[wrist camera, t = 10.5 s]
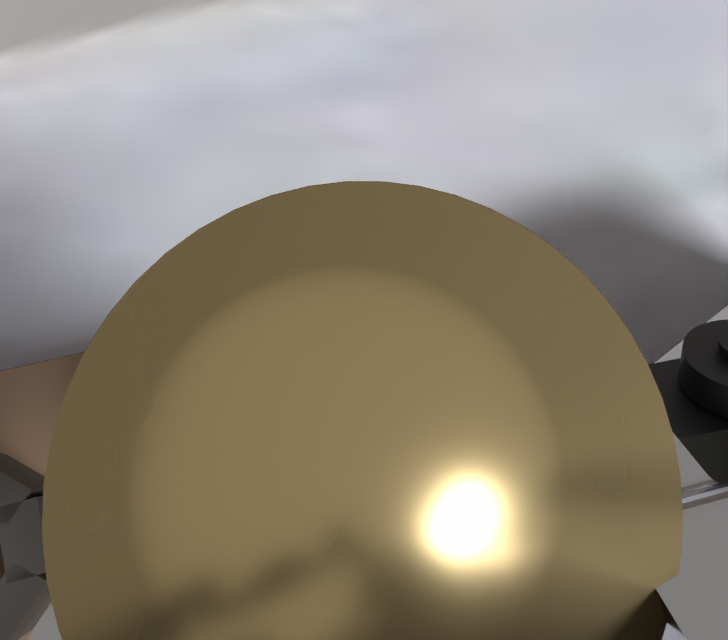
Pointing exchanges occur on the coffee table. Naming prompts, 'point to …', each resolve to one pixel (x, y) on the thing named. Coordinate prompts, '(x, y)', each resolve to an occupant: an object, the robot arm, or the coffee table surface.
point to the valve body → (362, 438)
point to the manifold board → (33, 408)
